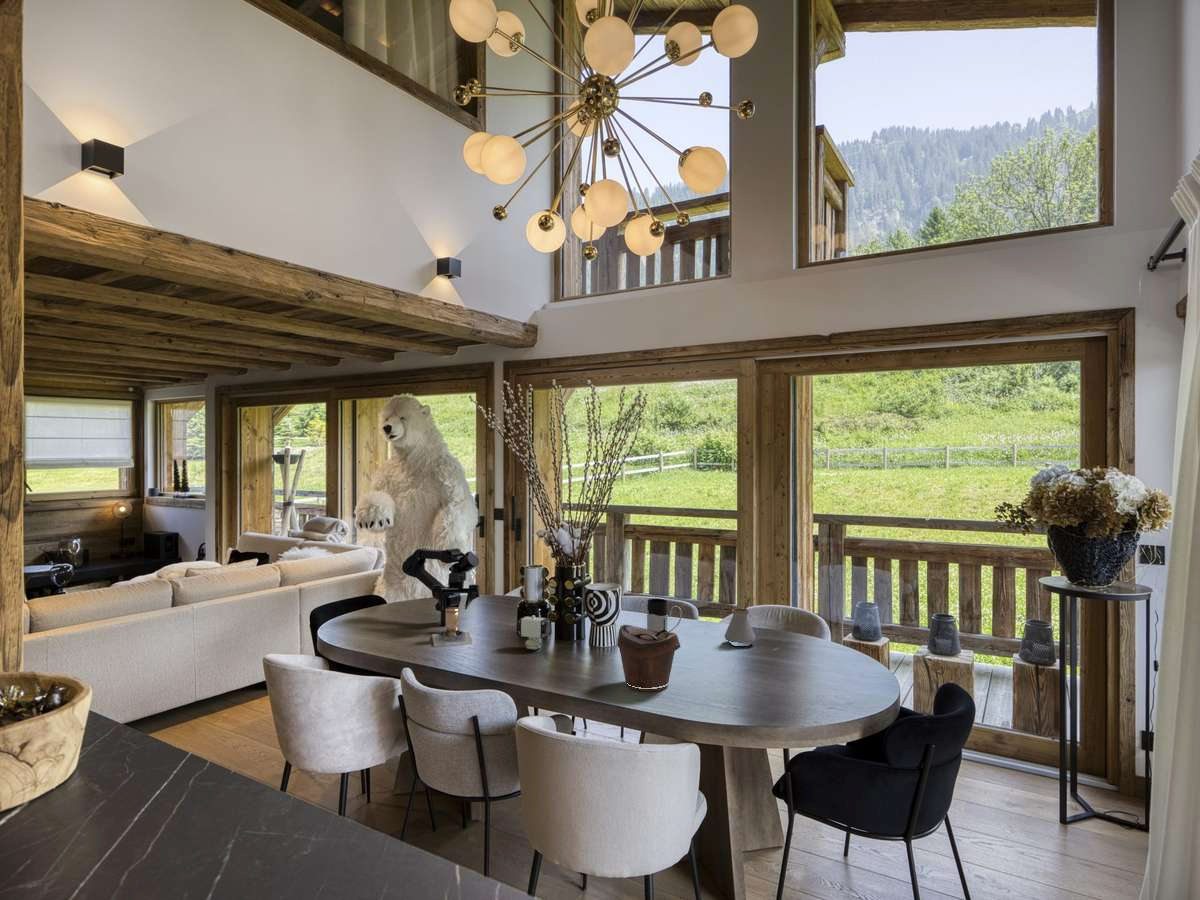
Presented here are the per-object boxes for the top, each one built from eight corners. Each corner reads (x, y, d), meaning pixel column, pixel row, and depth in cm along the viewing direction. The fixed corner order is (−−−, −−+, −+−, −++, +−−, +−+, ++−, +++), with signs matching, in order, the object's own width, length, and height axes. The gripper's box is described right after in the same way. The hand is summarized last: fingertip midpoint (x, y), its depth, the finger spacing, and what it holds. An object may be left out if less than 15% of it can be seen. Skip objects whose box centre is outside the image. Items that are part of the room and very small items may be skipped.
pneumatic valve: (545, 651, 248) (545, 618, 248) (516, 648, 252) (516, 615, 252) (551, 647, 253) (551, 614, 253) (522, 644, 257) (522, 612, 257)
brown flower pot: (690, 691, 206) (689, 631, 206) (627, 698, 200) (626, 636, 201) (667, 674, 223) (667, 619, 224) (608, 680, 217) (608, 623, 218)
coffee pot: (751, 650, 251) (751, 609, 251) (720, 646, 256) (720, 605, 256) (764, 636, 270) (764, 598, 271) (735, 633, 275) (735, 595, 276)
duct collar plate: (432, 636, 268) (432, 630, 268) (468, 634, 271) (468, 628, 271) (434, 646, 254) (434, 639, 254) (472, 643, 258) (472, 636, 258)
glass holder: (650, 635, 271) (650, 597, 271) (685, 640, 265) (685, 601, 265) (642, 641, 263) (642, 601, 263) (677, 645, 257) (677, 605, 257)
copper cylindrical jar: (444, 636, 265) (444, 607, 265) (458, 635, 266) (458, 606, 266) (445, 639, 260) (446, 610, 260) (459, 638, 261) (460, 609, 261)
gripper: (432, 564, 276) (427, 598, 265) (479, 564, 278) (476, 597, 266) (435, 581, 284) (430, 613, 273) (480, 580, 285) (478, 613, 274)
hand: (453, 609), depth 271 cm, fingers open, 9 cm apart
